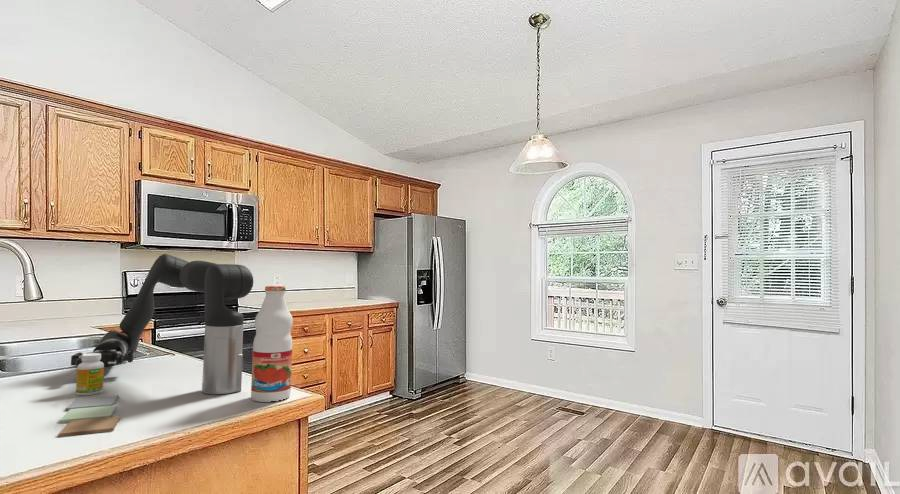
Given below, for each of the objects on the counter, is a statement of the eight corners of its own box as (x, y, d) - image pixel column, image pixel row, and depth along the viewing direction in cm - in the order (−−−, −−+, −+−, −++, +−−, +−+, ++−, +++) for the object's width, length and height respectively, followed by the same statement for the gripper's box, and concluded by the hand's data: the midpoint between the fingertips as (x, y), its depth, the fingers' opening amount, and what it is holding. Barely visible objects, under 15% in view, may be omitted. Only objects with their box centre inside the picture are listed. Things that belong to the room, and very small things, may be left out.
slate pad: (118, 397, 117) (118, 395, 117) (112, 407, 110) (112, 404, 110) (75, 401, 114) (75, 398, 114) (65, 411, 106) (66, 408, 106)
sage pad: (116, 407, 109) (116, 405, 109) (109, 418, 102) (109, 415, 102) (70, 411, 106) (70, 409, 106) (59, 423, 98) (59, 420, 98)
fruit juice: (288, 391, 127) (293, 285, 128) (292, 401, 118) (296, 287, 120) (250, 394, 123) (255, 285, 124) (250, 404, 114) (256, 286, 116)
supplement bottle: (88, 396, 118) (90, 356, 118) (70, 395, 119) (72, 355, 120) (107, 391, 123) (109, 353, 124) (90, 389, 124) (92, 351, 125)
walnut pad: (120, 418, 102) (120, 415, 102) (113, 431, 94) (113, 427, 94) (70, 423, 98) (70, 420, 98) (58, 436, 90) (58, 433, 90)
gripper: (81, 341, 142) (67, 349, 127) (138, 338, 148) (130, 346, 134) (80, 366, 141) (65, 378, 127) (137, 363, 148) (129, 374, 133)
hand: (98, 362), depth 130 cm, fingers open, 8 cm apart
